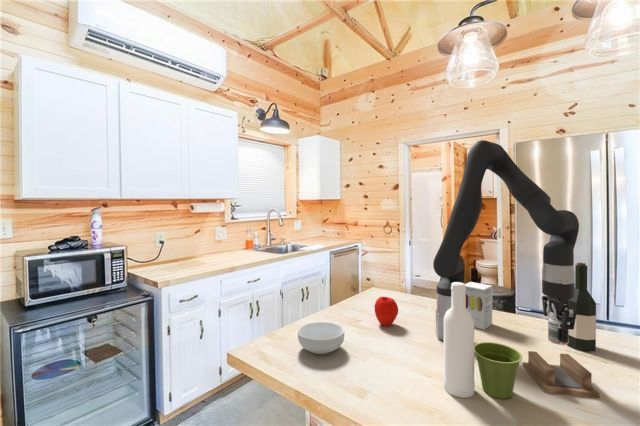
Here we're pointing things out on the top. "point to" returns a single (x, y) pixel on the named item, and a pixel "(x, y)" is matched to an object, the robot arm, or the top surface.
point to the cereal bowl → (321, 337)
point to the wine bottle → (583, 314)
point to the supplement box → (479, 304)
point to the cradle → (560, 376)
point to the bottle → (458, 345)
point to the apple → (386, 310)
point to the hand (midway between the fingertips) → (557, 337)
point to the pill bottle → (554, 330)
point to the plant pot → (497, 368)
